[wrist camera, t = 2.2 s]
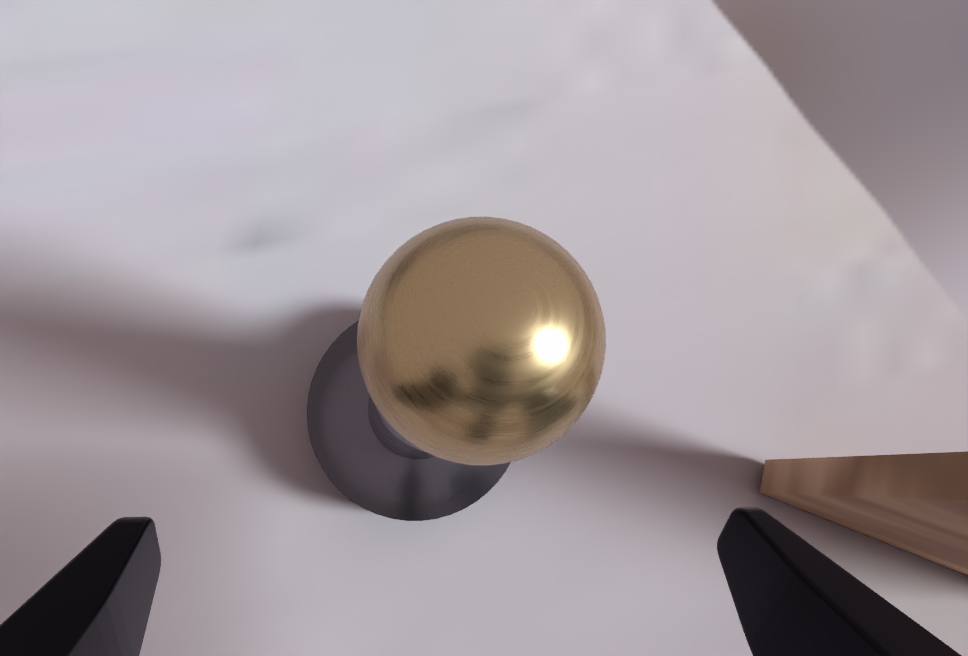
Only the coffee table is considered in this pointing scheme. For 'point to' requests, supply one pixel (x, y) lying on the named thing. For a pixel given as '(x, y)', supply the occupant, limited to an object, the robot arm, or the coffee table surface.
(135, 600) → the robot arm
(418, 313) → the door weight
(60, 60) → the coffee table surface
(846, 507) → the door
